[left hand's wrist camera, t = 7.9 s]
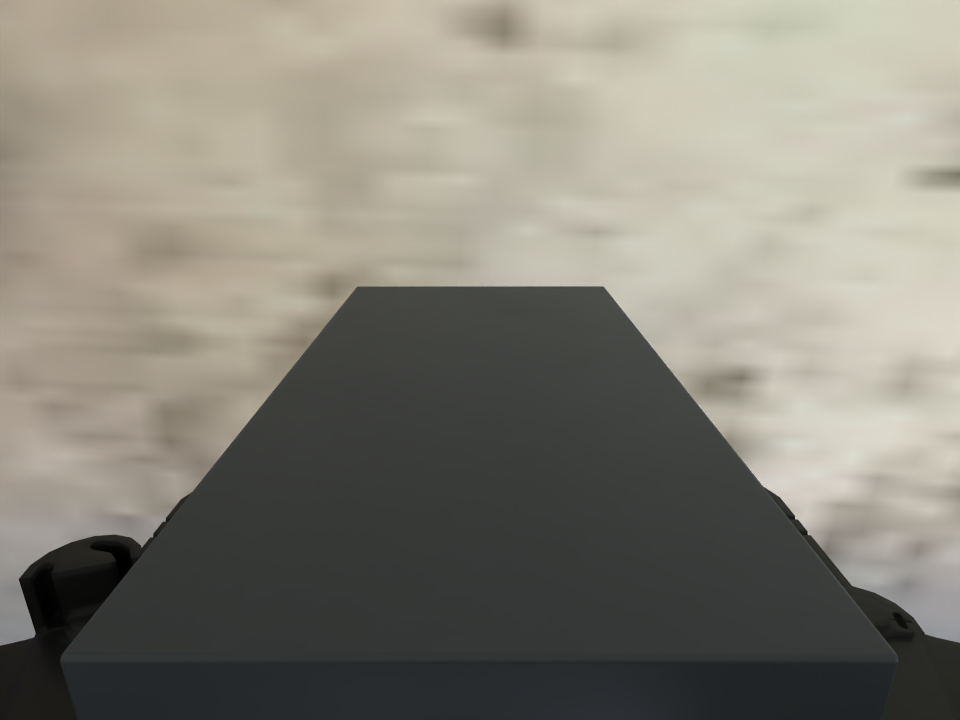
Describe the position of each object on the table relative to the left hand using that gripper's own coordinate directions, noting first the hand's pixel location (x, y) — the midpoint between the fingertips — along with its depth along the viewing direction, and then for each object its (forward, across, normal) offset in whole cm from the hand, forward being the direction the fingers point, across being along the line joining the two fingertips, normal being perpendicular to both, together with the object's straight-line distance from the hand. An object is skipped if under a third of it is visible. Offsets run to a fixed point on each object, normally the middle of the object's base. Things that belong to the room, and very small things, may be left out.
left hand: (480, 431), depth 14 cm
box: (+3, 0, -7) cm, 8 cm away
